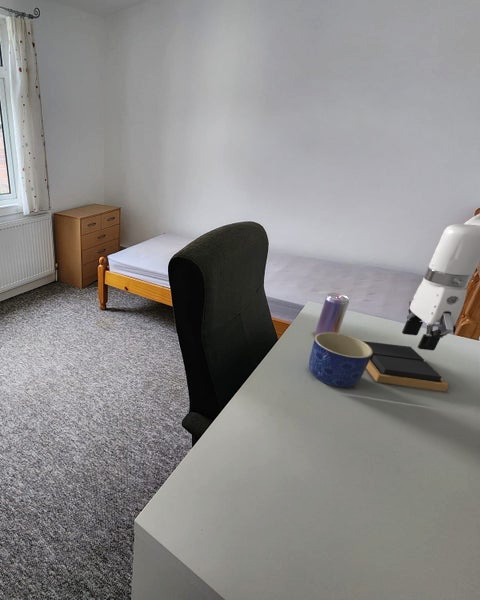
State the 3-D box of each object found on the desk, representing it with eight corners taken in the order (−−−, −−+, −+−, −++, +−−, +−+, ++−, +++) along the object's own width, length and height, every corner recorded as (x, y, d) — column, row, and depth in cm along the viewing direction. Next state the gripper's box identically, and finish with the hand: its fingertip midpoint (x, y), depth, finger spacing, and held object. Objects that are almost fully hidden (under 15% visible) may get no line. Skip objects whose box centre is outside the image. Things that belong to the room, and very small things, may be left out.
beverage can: (318, 341, 110) (331, 300, 104) (311, 332, 115) (323, 292, 109) (338, 343, 109) (353, 301, 102) (331, 334, 114) (344, 293, 108)
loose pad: (420, 371, 94) (425, 361, 93) (436, 387, 88) (441, 376, 87) (369, 364, 97) (373, 354, 96) (380, 379, 91) (385, 369, 90)
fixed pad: (406, 356, 101) (410, 346, 99) (419, 370, 95) (424, 359, 93) (358, 350, 104) (362, 340, 103) (368, 363, 98) (372, 353, 97)
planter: (354, 371, 96) (367, 338, 91) (363, 398, 86) (378, 362, 81) (303, 360, 101) (312, 328, 96) (306, 384, 91) (317, 350, 87)
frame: (409, 356, 101) (412, 349, 100) (444, 393, 87) (449, 385, 86) (351, 349, 106) (353, 342, 104) (375, 382, 91) (379, 375, 90)
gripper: (494, 293, 72) (457, 362, 80) (443, 267, 87) (416, 327, 94) (450, 290, 74) (418, 357, 82) (407, 264, 89) (383, 324, 97)
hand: (417, 340), depth 88 cm, fingers open, 6 cm apart
